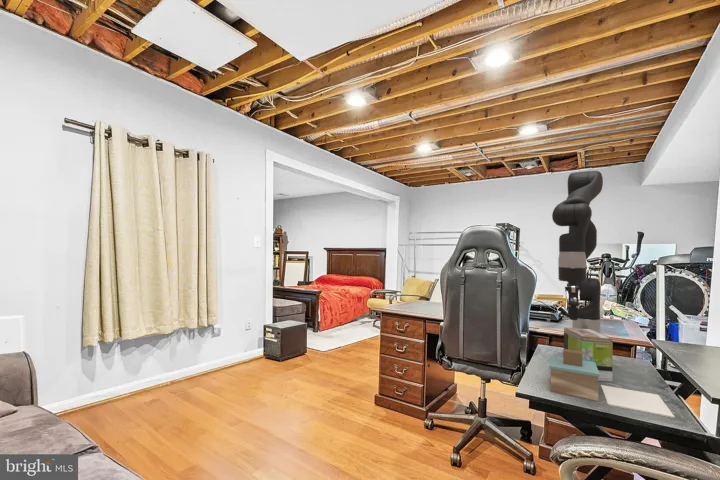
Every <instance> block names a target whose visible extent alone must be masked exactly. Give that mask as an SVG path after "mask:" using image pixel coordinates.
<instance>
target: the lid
mask: <svg viewBox="0 0 720 480" xmlns="http://www.w3.org/2000/svg"><path fill="white" fill-rule="evenodd" d="M548 366H549V369H550V370H551V369H555V370H561V371H567V372H573V373H580V374H586V375H592V376H598V377H600V374H599V371H598V369H597V366H596V364H595V362H591V361H584V360H582V351H576V350H569V349H564V348H563V350H562V356H556V355H555V356H554V355H549V365H548Z"/></svg>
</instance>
